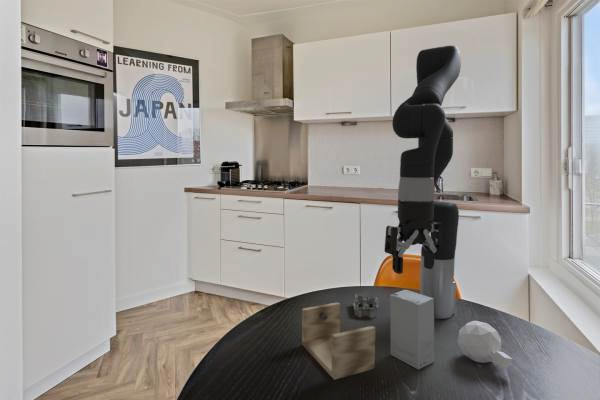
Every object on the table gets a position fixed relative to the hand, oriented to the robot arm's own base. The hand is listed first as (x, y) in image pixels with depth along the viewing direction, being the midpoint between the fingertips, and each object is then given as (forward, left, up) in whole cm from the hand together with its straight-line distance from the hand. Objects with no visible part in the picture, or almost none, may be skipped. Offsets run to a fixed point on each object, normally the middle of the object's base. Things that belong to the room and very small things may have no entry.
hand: (413, 270), depth 82 cm
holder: (+15, -8, -21) cm, 27 cm away
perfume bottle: (-13, +8, -21) cm, 26 cm away
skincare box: (0, 0, -21) cm, 21 cm away
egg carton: (-6, -27, -21) cm, 35 cm away
